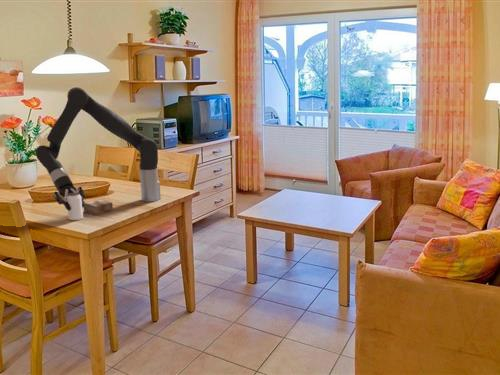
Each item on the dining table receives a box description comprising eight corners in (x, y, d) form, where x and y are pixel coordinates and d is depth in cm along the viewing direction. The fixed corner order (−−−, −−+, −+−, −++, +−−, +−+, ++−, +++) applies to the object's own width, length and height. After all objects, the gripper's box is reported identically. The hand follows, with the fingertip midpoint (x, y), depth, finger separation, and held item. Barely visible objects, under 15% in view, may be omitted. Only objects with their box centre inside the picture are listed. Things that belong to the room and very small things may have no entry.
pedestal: (101, 207, 247) (100, 199, 246) (113, 210, 241) (112, 202, 240) (84, 211, 240) (83, 203, 239) (95, 215, 233) (94, 206, 232)
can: (85, 216, 231) (82, 192, 228) (80, 220, 225) (78, 195, 222) (71, 216, 231) (68, 192, 228) (66, 220, 225) (64, 196, 222)
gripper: (49, 177, 223) (64, 206, 218) (77, 172, 233) (93, 200, 228) (44, 187, 227) (60, 215, 222) (72, 182, 238) (88, 209, 233)
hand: (76, 207), depth 225 cm, fingers closed on can, 6 cm apart
